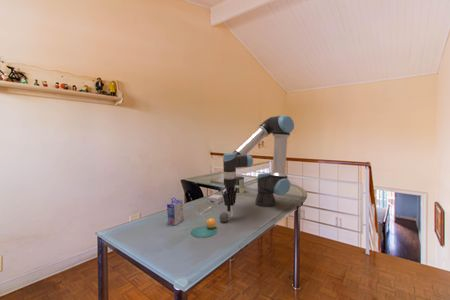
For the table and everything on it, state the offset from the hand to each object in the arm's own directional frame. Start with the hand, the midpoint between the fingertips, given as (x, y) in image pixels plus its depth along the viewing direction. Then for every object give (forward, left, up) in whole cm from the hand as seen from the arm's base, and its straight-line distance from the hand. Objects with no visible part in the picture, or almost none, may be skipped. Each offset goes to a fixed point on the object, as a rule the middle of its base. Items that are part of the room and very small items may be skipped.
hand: (230, 215), depth 135 cm
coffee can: (-15, -62, -2) cm, 64 cm away
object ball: (+12, +12, +1) cm, 17 cm away
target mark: (+16, +16, -2) cm, 23 cm away
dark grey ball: (+4, +4, +1) cm, 6 cm away
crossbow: (+15, -17, -3) cm, 23 cm away
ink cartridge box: (+33, 0, -2) cm, 33 cm away
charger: (+6, -40, -2) cm, 40 cm away
